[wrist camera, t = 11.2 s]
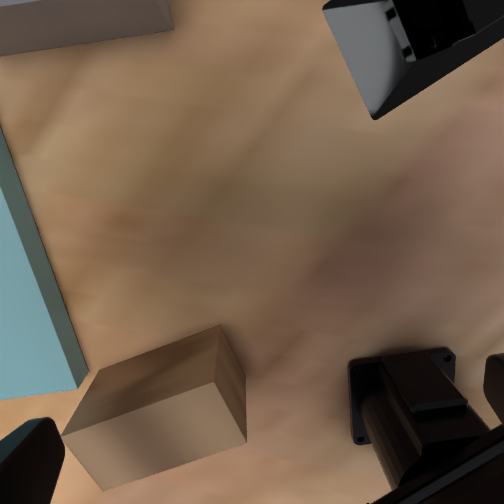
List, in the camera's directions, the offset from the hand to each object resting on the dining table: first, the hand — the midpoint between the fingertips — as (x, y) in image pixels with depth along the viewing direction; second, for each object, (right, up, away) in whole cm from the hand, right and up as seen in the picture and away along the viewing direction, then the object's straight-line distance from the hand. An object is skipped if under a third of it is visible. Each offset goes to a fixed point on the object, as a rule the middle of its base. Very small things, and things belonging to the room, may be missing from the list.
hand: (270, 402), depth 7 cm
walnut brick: (-5, -4, +14) cm, 16 cm away
